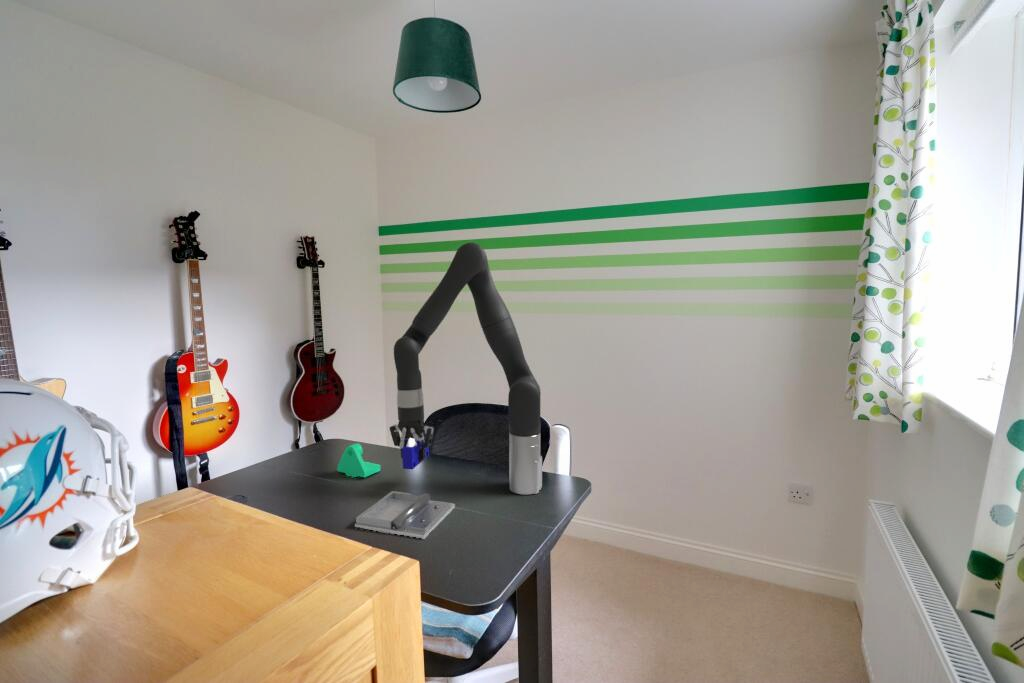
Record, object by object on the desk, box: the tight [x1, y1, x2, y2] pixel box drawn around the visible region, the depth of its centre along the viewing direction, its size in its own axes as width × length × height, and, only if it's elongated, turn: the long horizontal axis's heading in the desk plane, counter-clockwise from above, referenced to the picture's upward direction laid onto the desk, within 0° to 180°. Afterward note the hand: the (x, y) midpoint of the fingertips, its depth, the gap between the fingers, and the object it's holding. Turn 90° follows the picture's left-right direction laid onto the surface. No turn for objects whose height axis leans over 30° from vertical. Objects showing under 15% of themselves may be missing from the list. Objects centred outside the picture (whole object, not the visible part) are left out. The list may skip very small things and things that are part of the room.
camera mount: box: [336, 442, 382, 479], centre depth 155 cm, size 12×8×10 cm, turn 62°
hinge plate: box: [354, 490, 456, 540], centre depth 124 cm, size 19×18×3 cm
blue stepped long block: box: [401, 435, 430, 470], centre depth 141 cm, size 12×4×6 cm, turn 167°
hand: (413, 460), depth 141 cm, fingers closed on blue stepped long block, 4 cm apart
